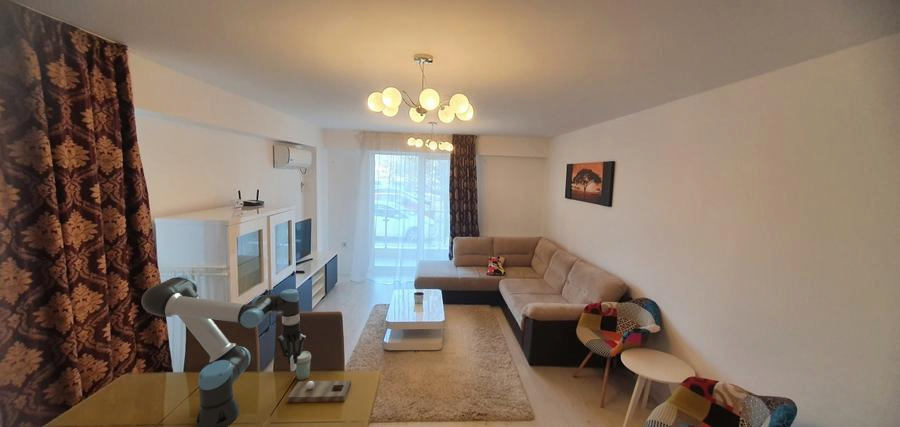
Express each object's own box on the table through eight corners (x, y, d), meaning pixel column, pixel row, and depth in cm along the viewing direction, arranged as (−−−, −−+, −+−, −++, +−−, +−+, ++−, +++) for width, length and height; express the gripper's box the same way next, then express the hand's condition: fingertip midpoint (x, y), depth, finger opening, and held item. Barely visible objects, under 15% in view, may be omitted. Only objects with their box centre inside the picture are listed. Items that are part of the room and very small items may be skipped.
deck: (288, 402, 152) (287, 397, 151) (298, 386, 163) (298, 381, 163) (344, 401, 153) (344, 396, 152) (351, 385, 165) (351, 380, 164)
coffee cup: (305, 382, 166) (304, 360, 165) (290, 380, 168) (289, 358, 167) (315, 373, 175) (314, 351, 173) (301, 370, 176) (300, 349, 175)
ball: (305, 391, 156) (304, 384, 155) (307, 386, 159) (307, 379, 159) (312, 390, 156) (312, 383, 156) (315, 386, 159) (315, 379, 159)
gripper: (273, 326, 150) (275, 374, 152) (301, 325, 151) (304, 373, 153) (280, 319, 157) (283, 365, 160) (308, 318, 158) (310, 364, 160)
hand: (293, 369), depth 156 cm, fingers closed
